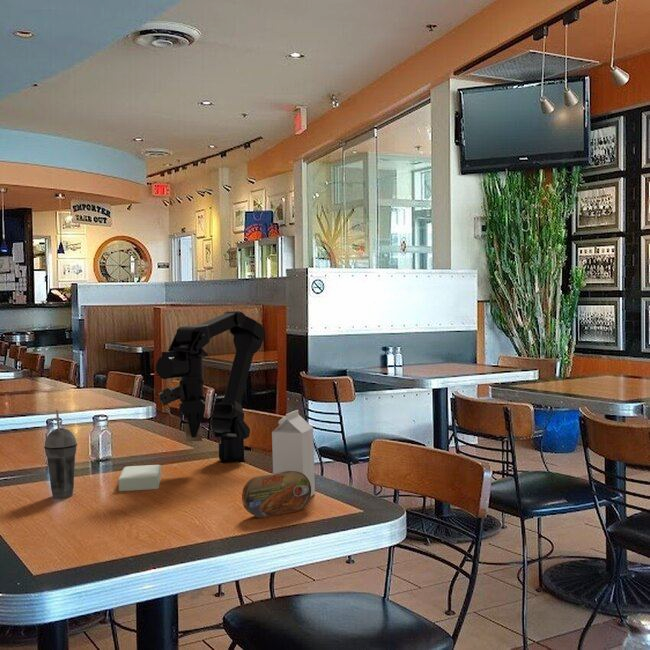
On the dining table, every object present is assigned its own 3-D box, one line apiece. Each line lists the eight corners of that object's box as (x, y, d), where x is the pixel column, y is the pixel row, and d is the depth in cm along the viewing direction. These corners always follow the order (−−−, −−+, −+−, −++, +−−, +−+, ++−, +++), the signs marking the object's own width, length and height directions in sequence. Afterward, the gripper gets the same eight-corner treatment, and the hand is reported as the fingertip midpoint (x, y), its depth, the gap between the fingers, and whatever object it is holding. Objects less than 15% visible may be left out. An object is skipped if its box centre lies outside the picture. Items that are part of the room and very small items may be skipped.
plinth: (161, 475, 204) (160, 464, 204) (158, 488, 190) (157, 476, 190) (124, 478, 202) (124, 466, 202) (118, 491, 189) (118, 478, 188)
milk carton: (315, 494, 181) (312, 409, 180) (304, 502, 174) (301, 414, 173) (285, 492, 183) (283, 409, 182) (273, 500, 176) (271, 413, 176)
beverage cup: (84, 491, 189) (80, 406, 188) (71, 499, 182) (67, 411, 181) (54, 492, 190) (50, 407, 189) (40, 499, 182) (36, 411, 182)
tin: (247, 521, 161) (245, 479, 161) (240, 517, 164) (239, 476, 163) (312, 509, 168) (311, 469, 168) (305, 506, 171) (304, 466, 171)
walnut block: (201, 438, 210) (201, 423, 210) (201, 440, 206) (201, 425, 206) (186, 439, 209) (185, 423, 209) (185, 441, 205) (185, 426, 205)
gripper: (161, 373, 215) (163, 431, 216) (157, 380, 197) (160, 444, 197) (204, 371, 217) (205, 429, 217) (204, 378, 198) (206, 441, 199)
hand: (193, 435), depth 208 cm, fingers closed on walnut block, 4 cm apart
